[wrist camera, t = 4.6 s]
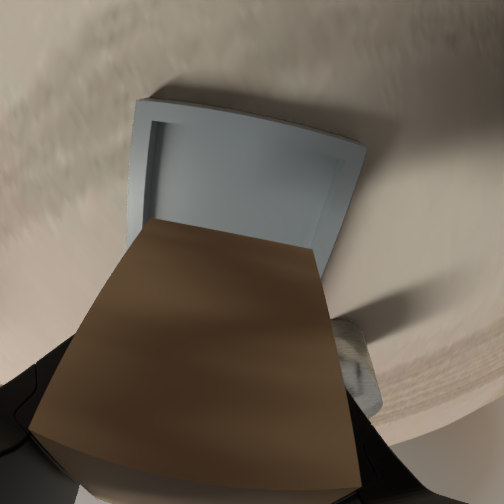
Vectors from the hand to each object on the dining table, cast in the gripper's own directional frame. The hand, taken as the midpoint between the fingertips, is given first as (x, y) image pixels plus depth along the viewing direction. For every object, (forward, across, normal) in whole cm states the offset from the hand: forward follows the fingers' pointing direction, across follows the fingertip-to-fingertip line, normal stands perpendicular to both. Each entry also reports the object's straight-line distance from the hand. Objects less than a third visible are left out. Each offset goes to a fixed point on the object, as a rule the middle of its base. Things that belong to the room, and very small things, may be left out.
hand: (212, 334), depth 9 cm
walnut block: (+2, 0, 0) cm, 2 cm away
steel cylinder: (+11, -10, +10) cm, 18 cm away
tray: (+11, 0, +5) cm, 12 cm away
